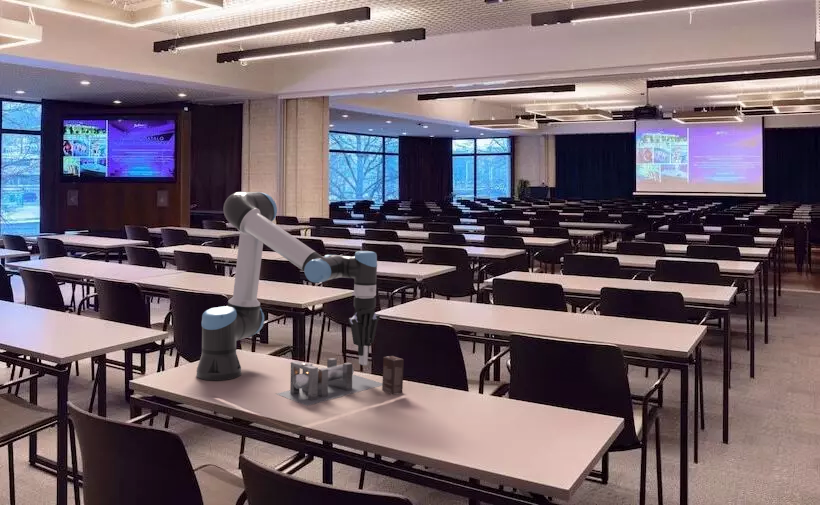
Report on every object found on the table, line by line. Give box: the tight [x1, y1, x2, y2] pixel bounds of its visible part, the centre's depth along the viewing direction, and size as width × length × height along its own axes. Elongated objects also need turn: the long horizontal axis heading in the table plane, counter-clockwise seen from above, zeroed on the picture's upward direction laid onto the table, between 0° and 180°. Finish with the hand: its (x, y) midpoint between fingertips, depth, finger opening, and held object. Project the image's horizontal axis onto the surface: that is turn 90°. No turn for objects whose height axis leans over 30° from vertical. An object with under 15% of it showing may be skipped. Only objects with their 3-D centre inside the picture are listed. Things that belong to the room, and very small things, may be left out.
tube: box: [293, 364, 354, 389], centre depth 222 cm, size 5×22×5 cm, turn 138°
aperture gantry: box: [289, 360, 319, 401], centre depth 216 cm, size 11×2×10 cm, turn 48°
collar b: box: [302, 362, 328, 398], centre depth 220 cm, size 10×2×9 cm, turn 48°
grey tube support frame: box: [326, 357, 353, 391], centre depth 227 cm, size 10×2×9 cm, turn 48°
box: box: [381, 355, 404, 395], centre depth 225 cm, size 6×4×12 cm
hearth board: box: [276, 374, 382, 407], centre depth 226 cm, size 16×34×1 cm, turn 138°
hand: (363, 364), depth 235 cm, fingers closed
